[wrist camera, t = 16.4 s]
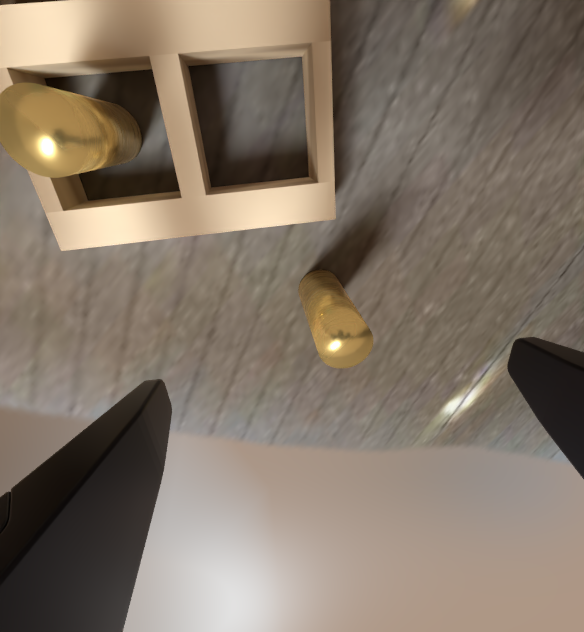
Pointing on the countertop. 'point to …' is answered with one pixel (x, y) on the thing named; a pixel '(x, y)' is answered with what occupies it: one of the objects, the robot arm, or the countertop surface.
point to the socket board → (177, 106)
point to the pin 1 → (65, 131)
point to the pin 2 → (334, 320)
